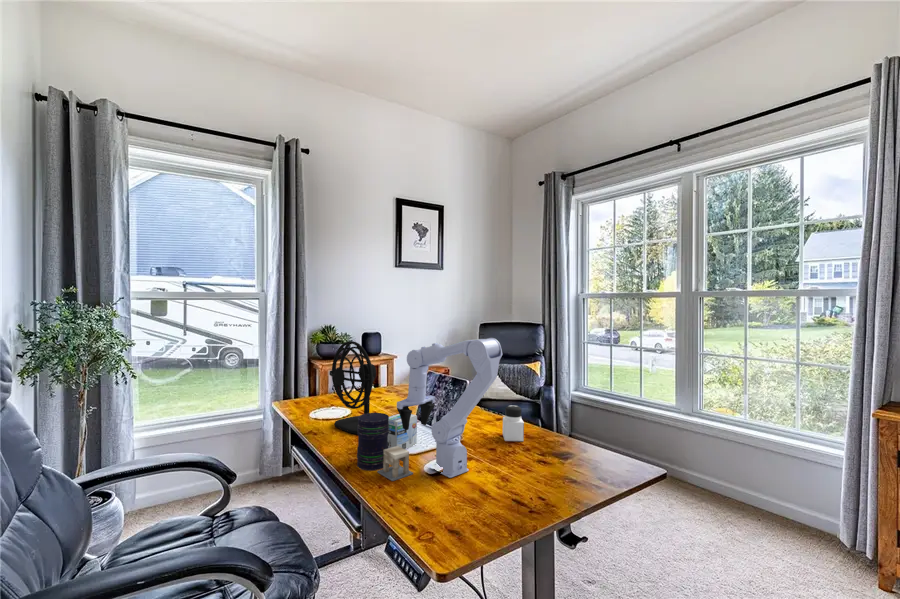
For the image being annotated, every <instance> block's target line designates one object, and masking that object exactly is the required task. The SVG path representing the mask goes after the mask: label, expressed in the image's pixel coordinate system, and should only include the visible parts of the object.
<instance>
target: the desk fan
mask: <svg viewBox="0 0 900 599" xmlns="http://www.w3.org/2000/svg"><path fill="white" fill-rule="evenodd" d="M350 345H354V346H350ZM349 346H350V347H349ZM357 350H358V351H359V353H358V352H357ZM349 352H351V353H353V354H354V357H352V359H349V358H348V357H346V356H347V354H348V353H349ZM340 354H341V356H339V355H340ZM356 358H357V361H358V363H359V368H358V371H355V368H354V366H353V364H354V361H355V359H356ZM345 360H346V361H347V362H348V365H349V370H347V369H344V361H345ZM364 360H365V361H366V363H365V361H364ZM339 361H340V362H339ZM338 362H339V367H337V363H338ZM346 373H347V374H349V377H345V374H346ZM355 374H356V375H358V377H359V379H358V378H356V375H355ZM329 376H331V381H332V385H333V389H334V391H335V393H336V395H337V397H338V399H339V400H340V402H341V403H342V404H343V405H344V406H345V407H346V408H348V409H351V410H356V409H360V408H362V407H363V414H366V413H370V401H371V399H370V398H371V397H370V396H371V394H372V389H373V385H374V381H375V379H376V377H377V369H376V366H375V365H374V364H373V363H372V362H371V359H370V357H369V355H368V353H367V351H366V348H364V347H363V346H362V345H361V344H360V343H359V342H356V341H346V342H343V343H342V344H341V345H340V346H339V347H338V349H337V351H336V353H335V355H334V357H333V360H332V365H331V370H329ZM345 381H347V382H348V381H349V382H350V383H351V388H350V389H349V391H348V390H347V387H346V385H345ZM355 382H356V383H361V385H360V389H358V388H357V386H356V385H355V384H356V383H355ZM342 389H343V391H342ZM353 390H355V391H356V392H358V395H357V397H356V398H354V397H352V396H351V395H350V394H352V392H353ZM343 392H344V393H343ZM362 395H363V398H362ZM344 396H345V397H347V398H348V399H349V400H351V401H348V400H346V399H344ZM358 403H360V404H359V405H358ZM351 404H352V405H351ZM359 416H360V415H355V416H349V417H344V418H342V419H337V420H335V422H334V427H335V428H338V429H340V430H342V431H344V432H346V433H350V434H355V435H356V434H357V432H358V430H357V426H358V417H359ZM357 435H358V434H357Z"/></svg>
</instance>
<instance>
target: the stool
mask: <svg viewBox="0 0 900 599" xmlns="http://www.w3.org/2000/svg"><path fill="white" fill-rule="evenodd" d="M409 460H410V450H407V449H403V448H401V447H399V446H395V447H392V448H388V449H385V450H384V462H383V468H382V469H383V471H384V472H385V473H386V472H389V467H390V466H393V471H392V477H394V478H396V477H398V468H399V465H400V461H401V462H402V467H403V473H404V474H408V473H409V471H410V464H409V463H410V461H409Z"/></svg>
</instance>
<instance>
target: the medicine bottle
mask: <svg viewBox="0 0 900 599" xmlns="http://www.w3.org/2000/svg"><path fill="white" fill-rule="evenodd" d="M524 431H525V422H524V420H523V419H522V407H520V406H518V405H507V406H506V407H505V415H504V416H503V417H502V436H503V439H504V441H505V442H524V440H525V439H524V438H525V437H524V436H525V432H524Z"/></svg>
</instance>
